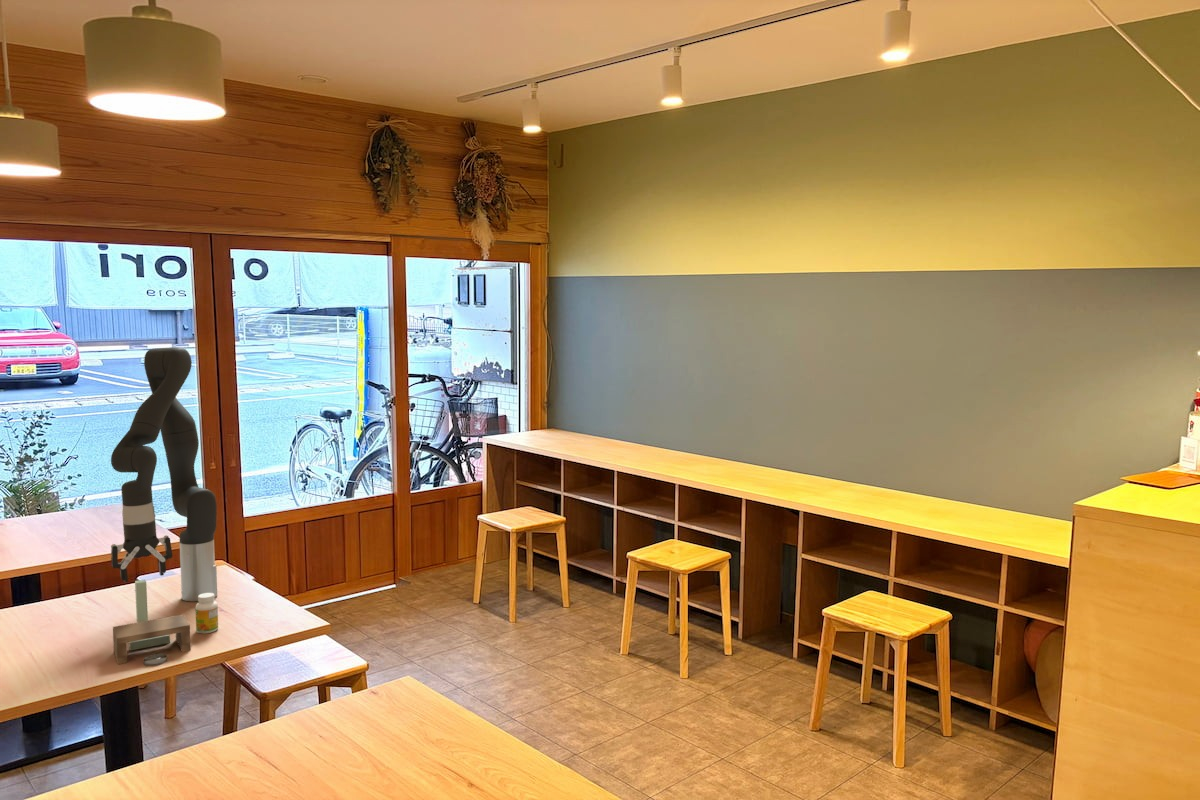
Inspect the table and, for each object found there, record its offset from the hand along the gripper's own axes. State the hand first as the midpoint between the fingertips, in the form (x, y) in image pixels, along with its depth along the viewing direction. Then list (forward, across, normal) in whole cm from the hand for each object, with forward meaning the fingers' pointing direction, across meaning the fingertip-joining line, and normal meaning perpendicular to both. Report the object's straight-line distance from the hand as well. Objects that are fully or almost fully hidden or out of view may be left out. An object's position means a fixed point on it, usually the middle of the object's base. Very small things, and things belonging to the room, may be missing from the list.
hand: (143, 578), depth 223 cm
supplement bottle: (+14, -12, +12) cm, 22 cm away
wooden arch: (+13, +2, +19) cm, 23 cm away
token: (+13, +2, +27) cm, 30 cm away
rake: (+13, +2, +8) cm, 16 cm away
